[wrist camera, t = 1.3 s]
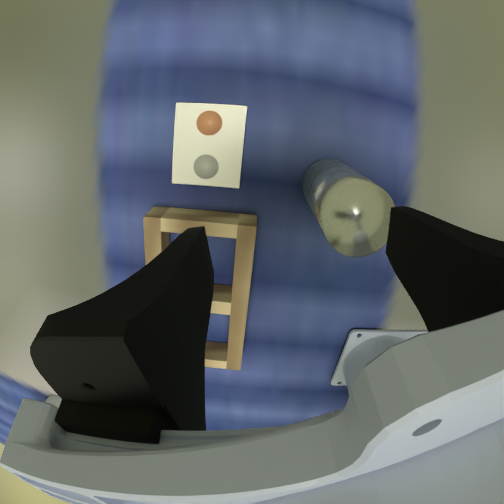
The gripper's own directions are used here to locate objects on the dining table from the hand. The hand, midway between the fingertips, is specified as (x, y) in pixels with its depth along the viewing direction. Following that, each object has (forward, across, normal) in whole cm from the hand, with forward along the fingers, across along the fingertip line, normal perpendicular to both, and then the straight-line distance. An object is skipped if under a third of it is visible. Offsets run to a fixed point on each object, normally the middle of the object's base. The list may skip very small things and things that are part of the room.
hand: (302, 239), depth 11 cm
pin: (+11, -4, +2) cm, 12 cm away
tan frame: (+11, +7, +10) cm, 16 cm away
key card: (+12, +4, -2) cm, 13 cm away
